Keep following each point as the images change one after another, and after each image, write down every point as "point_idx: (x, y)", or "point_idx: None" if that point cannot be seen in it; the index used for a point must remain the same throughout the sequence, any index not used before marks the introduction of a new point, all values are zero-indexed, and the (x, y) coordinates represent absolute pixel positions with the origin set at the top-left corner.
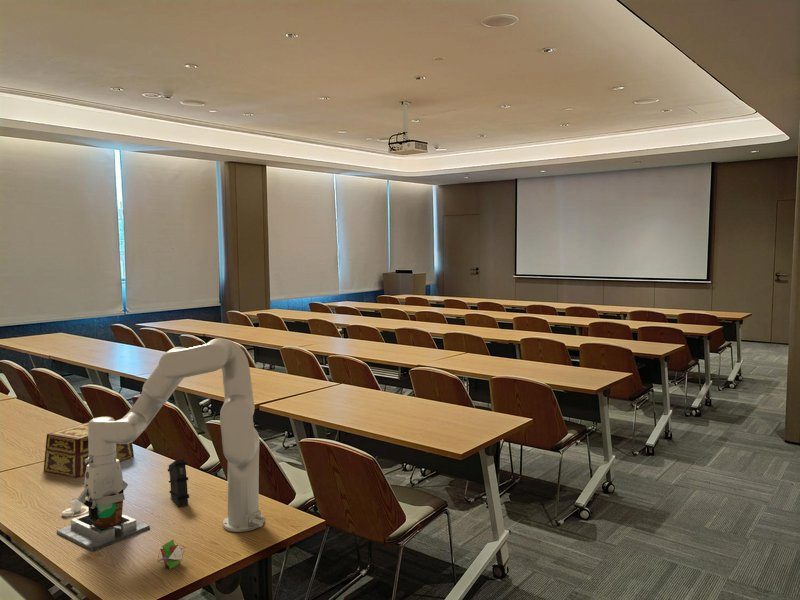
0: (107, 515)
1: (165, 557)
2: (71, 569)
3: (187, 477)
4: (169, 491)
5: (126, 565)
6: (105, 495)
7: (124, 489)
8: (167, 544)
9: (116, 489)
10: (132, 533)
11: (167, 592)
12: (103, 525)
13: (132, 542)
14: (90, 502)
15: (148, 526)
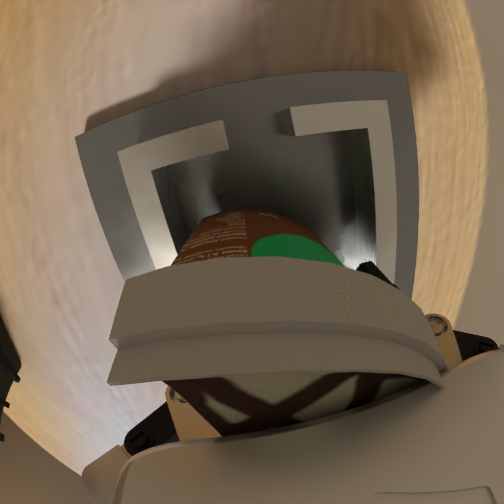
0: (313, 245)
1: None
2: (465, 28)
3: None
4: (17, 380)
5: None
6: (403, 405)
7: (116, 448)
8: None
9: (217, 485)
10: (177, 98)
11: None
12: (312, 233)
13: (213, 22)
14: (464, 357)
15: (82, 133)
